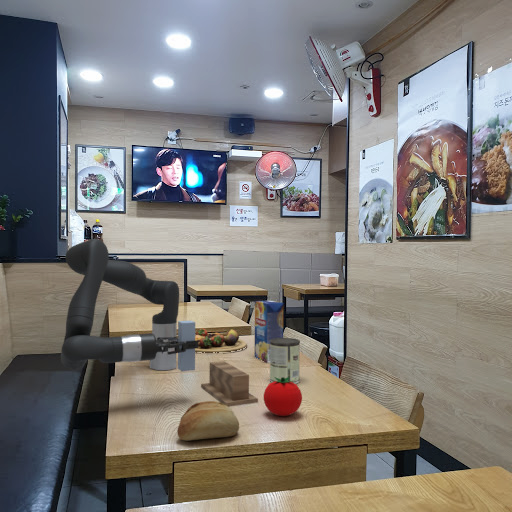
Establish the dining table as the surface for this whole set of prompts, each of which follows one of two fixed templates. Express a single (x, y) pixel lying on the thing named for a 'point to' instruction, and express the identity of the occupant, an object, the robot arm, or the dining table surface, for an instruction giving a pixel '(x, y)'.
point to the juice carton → (267, 327)
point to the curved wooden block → (228, 384)
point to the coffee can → (284, 359)
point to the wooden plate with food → (218, 342)
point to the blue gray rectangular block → (186, 358)
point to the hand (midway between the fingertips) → (195, 342)
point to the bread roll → (207, 421)
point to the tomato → (282, 397)
